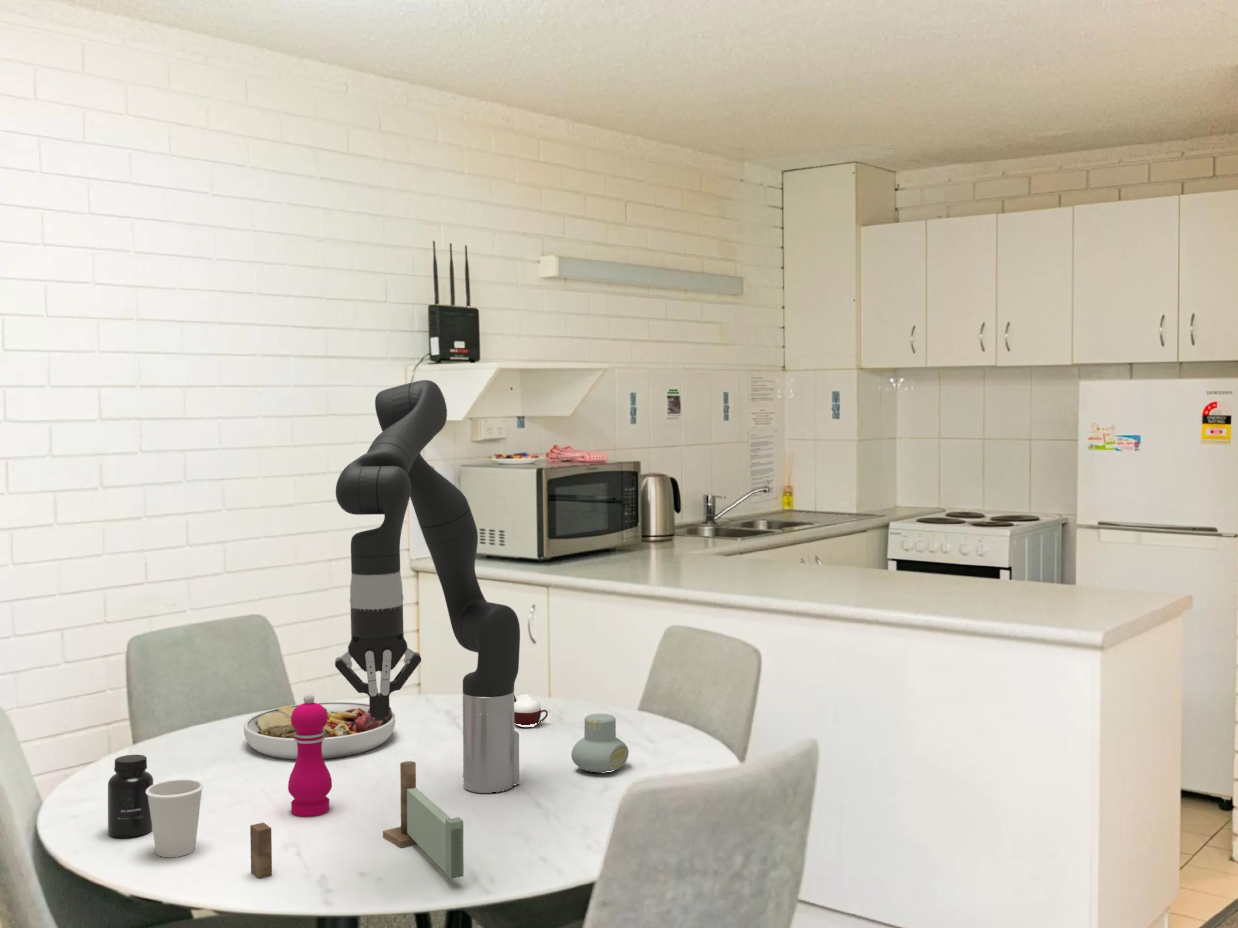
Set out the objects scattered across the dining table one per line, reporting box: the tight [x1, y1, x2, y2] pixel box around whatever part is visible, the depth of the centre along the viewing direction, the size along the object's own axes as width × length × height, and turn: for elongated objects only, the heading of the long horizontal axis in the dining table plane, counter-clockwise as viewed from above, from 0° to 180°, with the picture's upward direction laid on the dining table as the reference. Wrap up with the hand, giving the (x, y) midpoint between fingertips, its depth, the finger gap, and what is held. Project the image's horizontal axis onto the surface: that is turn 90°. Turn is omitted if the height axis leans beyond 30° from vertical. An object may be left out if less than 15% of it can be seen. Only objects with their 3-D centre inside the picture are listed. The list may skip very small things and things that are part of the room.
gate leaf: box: [407, 787, 465, 879], centre depth 181 cm, size 21×2×8 cm, turn 27°
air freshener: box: [571, 713, 630, 773], centre depth 228 cm, size 11×8×10 cm
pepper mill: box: [287, 693, 333, 818], centre depth 204 cm, size 7×7×20 cm
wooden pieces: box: [249, 760, 418, 879], centre depth 185 cm, size 28×6×12 cm, turn 128°
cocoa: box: [514, 693, 549, 725], centre depth 260 cm, size 10×6×12 cm, turn 74°
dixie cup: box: [146, 778, 204, 858], centre depth 186 cm, size 8×8×10 cm
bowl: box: [243, 701, 396, 760], centre depth 247 cm, size 30×30×8 cm
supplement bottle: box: [107, 754, 154, 839], centre depth 195 cm, size 7×7×12 cm
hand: (379, 719), depth 178 cm, fingers closed
